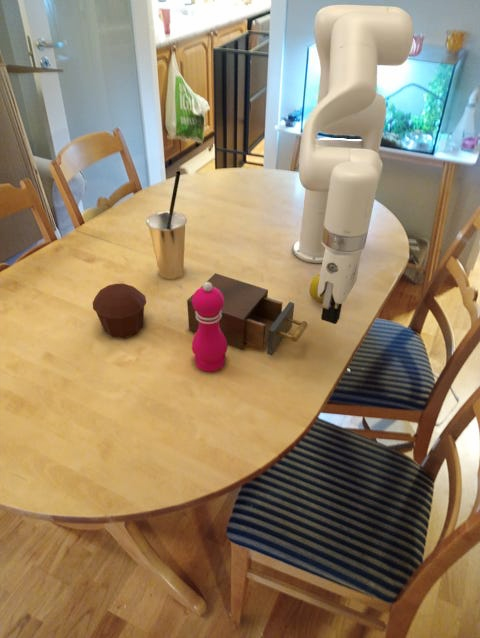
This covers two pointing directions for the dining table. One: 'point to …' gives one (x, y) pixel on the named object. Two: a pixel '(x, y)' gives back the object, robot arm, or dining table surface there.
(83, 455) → the dining table surface
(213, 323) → the pepper mill
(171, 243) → the metal cup with straw
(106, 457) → the dining table surface
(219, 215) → the dining table surface
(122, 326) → the muffin
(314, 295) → the lemon
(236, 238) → the dining table surface
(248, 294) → the cabinet
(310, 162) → the robot arm
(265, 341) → the drawer
